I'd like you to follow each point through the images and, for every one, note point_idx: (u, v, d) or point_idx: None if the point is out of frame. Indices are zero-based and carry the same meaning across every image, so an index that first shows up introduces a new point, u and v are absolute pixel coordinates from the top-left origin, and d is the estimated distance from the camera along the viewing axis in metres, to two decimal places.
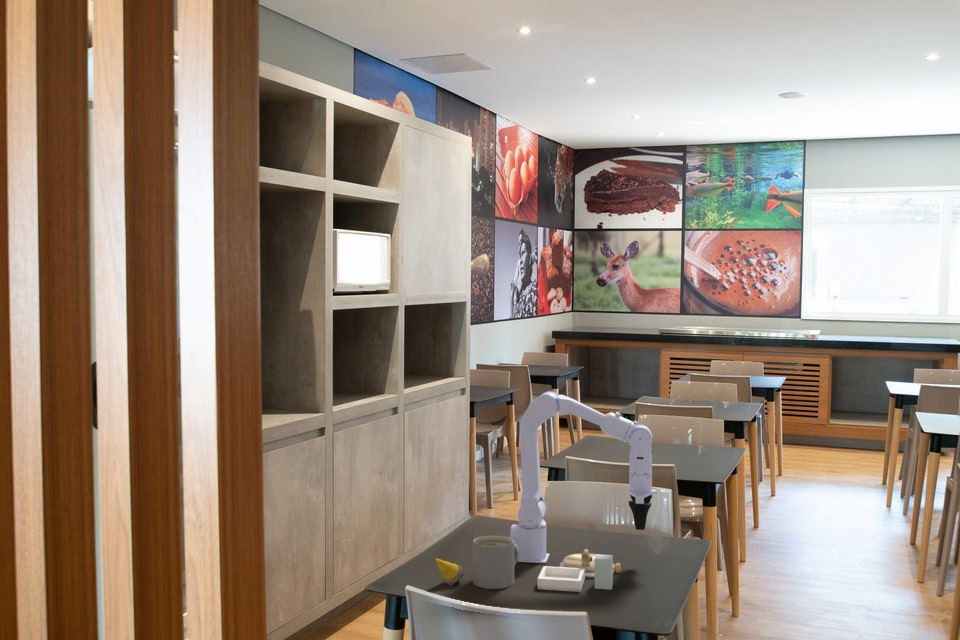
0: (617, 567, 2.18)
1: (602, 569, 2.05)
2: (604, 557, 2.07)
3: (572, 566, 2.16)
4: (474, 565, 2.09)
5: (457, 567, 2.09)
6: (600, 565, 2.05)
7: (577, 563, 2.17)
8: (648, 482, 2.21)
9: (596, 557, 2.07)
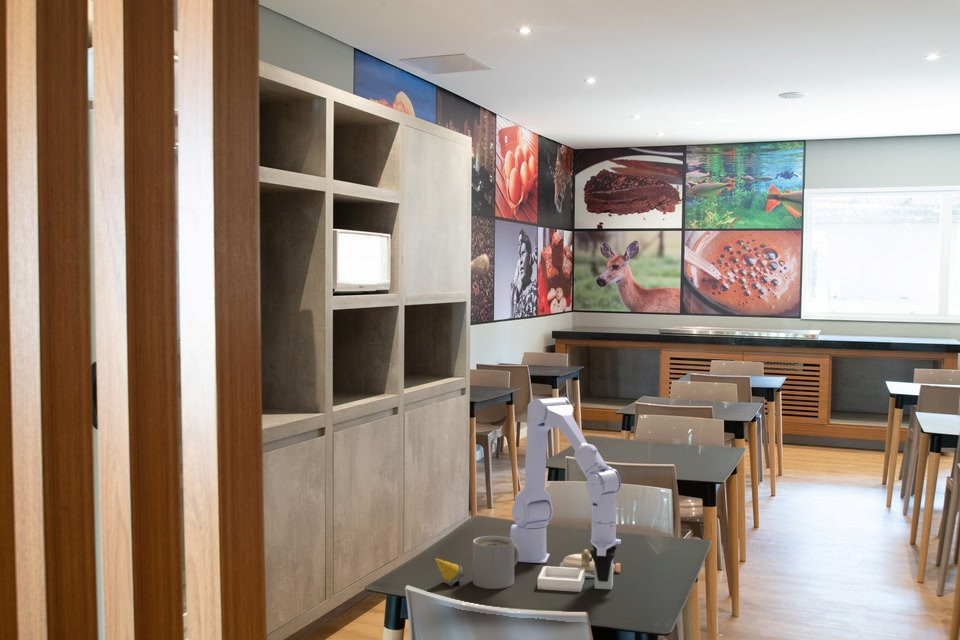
0: (617, 567, 2.18)
1: None
2: None
3: (572, 566, 2.16)
4: (474, 565, 2.09)
5: (457, 567, 2.09)
6: None
7: (577, 563, 2.17)
8: (611, 531, 2.05)
9: None
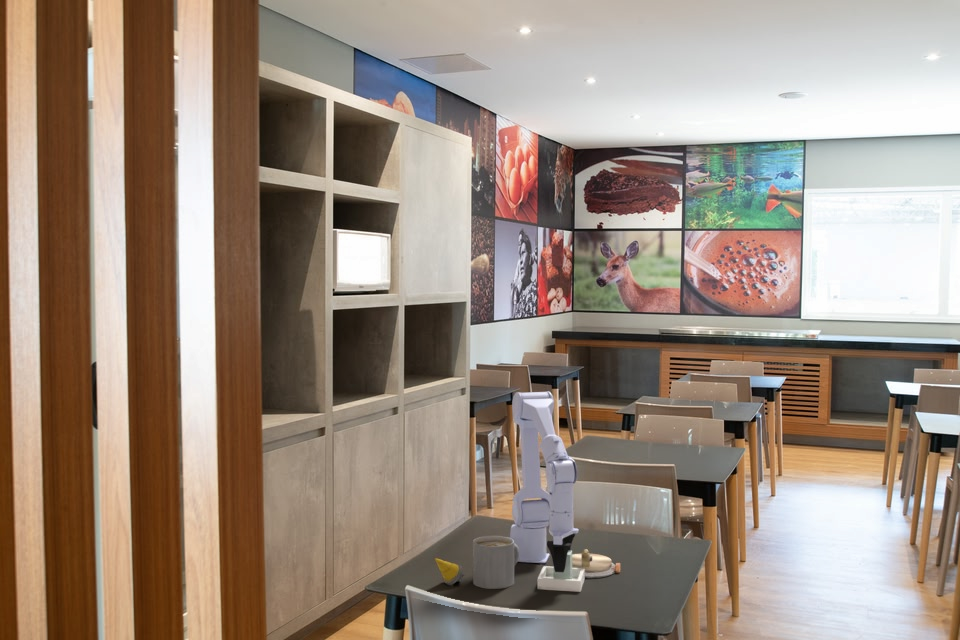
0: (617, 567, 2.18)
1: None
2: None
3: (572, 566, 2.16)
4: (474, 565, 2.09)
5: (457, 567, 2.09)
6: None
7: (577, 563, 2.17)
8: (568, 520, 2.07)
9: None
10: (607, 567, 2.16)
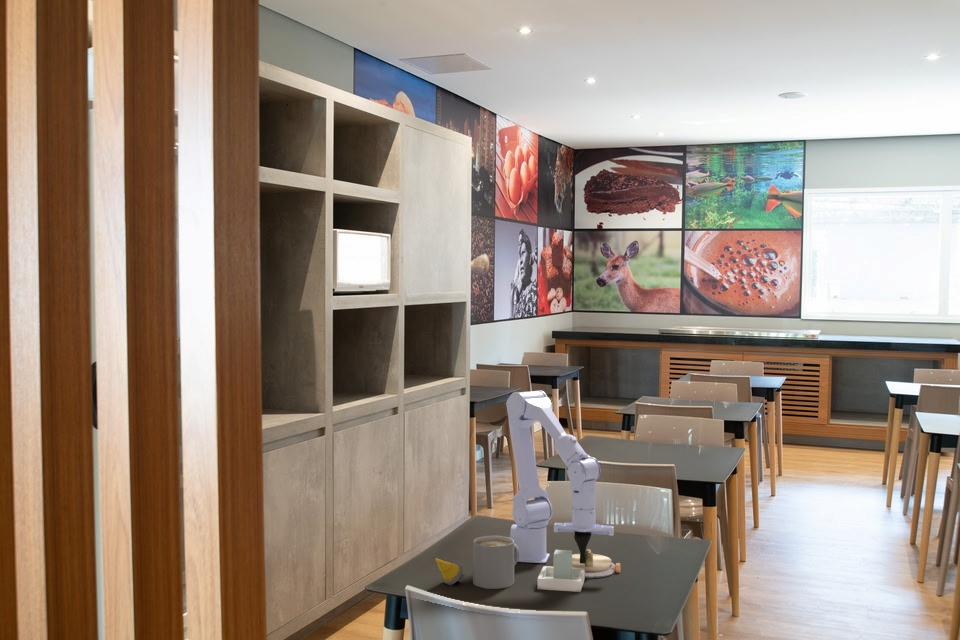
0: (617, 567, 2.18)
1: (561, 564, 2.07)
2: (563, 552, 2.09)
3: (575, 567, 2.16)
4: (474, 565, 2.09)
5: (457, 567, 2.09)
6: (558, 560, 2.07)
7: (579, 564, 2.17)
8: (574, 516, 2.14)
9: (555, 552, 2.09)
10: (609, 566, 2.17)
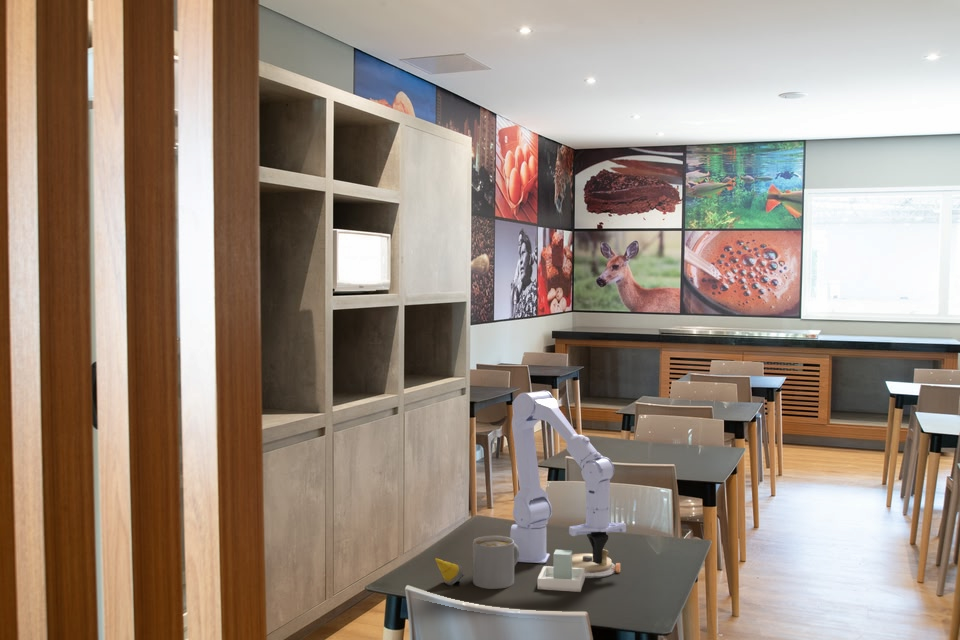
0: (617, 567, 2.18)
1: (561, 564, 2.07)
2: (563, 552, 2.09)
3: (593, 568, 2.15)
4: (474, 565, 2.09)
5: (457, 567, 2.09)
6: (558, 560, 2.07)
7: (593, 564, 2.16)
8: (593, 517, 2.13)
9: (555, 552, 2.09)
10: None
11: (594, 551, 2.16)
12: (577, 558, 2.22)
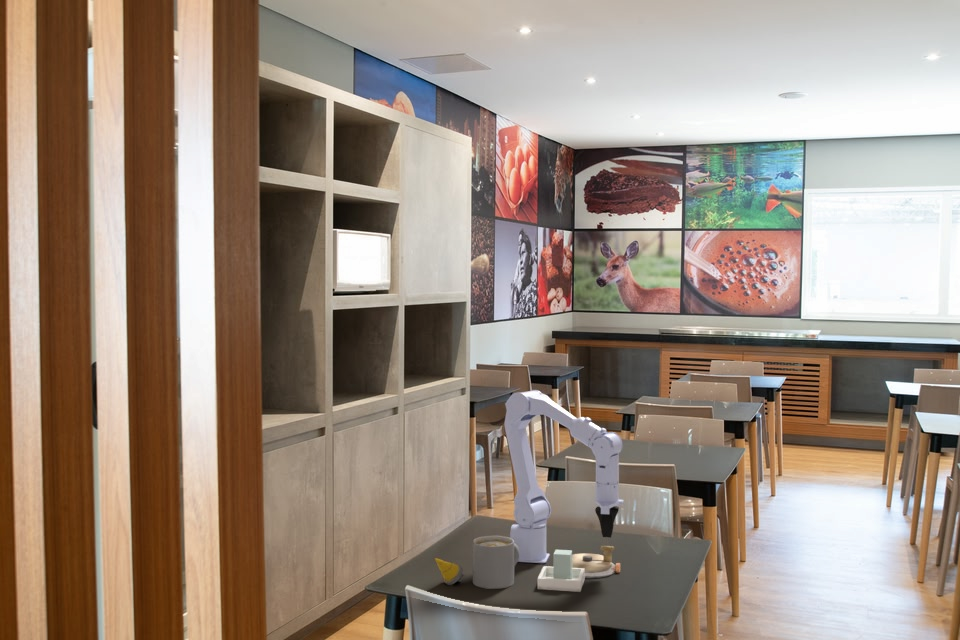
0: (617, 567, 2.18)
1: (561, 564, 2.07)
2: (563, 552, 2.09)
3: (606, 566, 2.16)
4: (474, 565, 2.09)
5: (457, 567, 2.09)
6: (558, 560, 2.07)
7: (601, 563, 2.18)
8: (614, 491, 2.15)
9: (555, 552, 2.09)
10: None
11: None
12: (575, 560, 2.20)
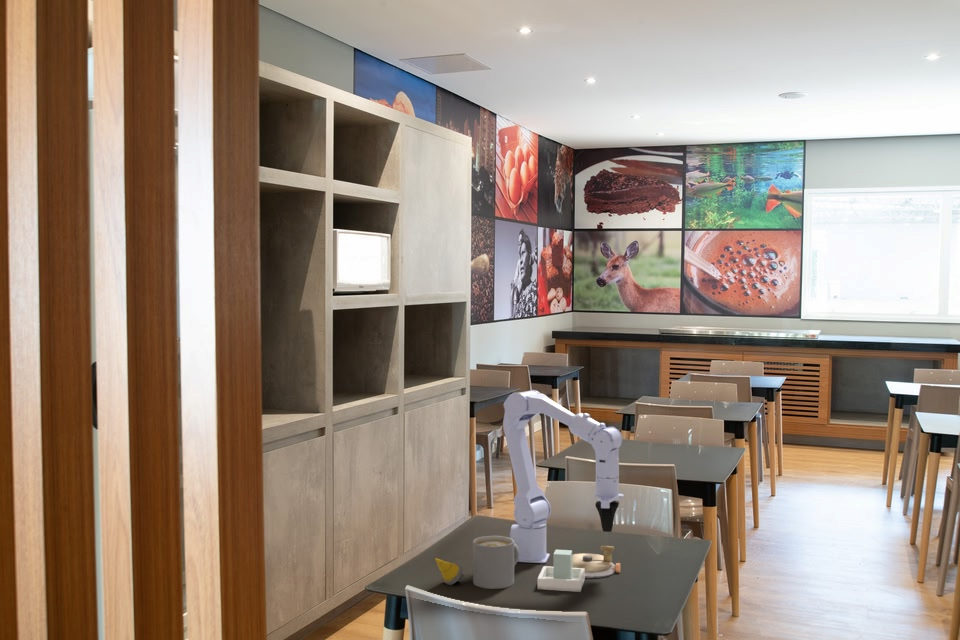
0: (617, 567, 2.18)
1: (561, 564, 2.07)
2: (563, 552, 2.09)
3: (606, 566, 2.16)
4: (474, 565, 2.09)
5: (457, 567, 2.09)
6: (558, 560, 2.07)
7: (601, 563, 2.18)
8: (614, 486, 2.15)
9: (555, 552, 2.09)
10: None
11: None
12: (575, 560, 2.20)
